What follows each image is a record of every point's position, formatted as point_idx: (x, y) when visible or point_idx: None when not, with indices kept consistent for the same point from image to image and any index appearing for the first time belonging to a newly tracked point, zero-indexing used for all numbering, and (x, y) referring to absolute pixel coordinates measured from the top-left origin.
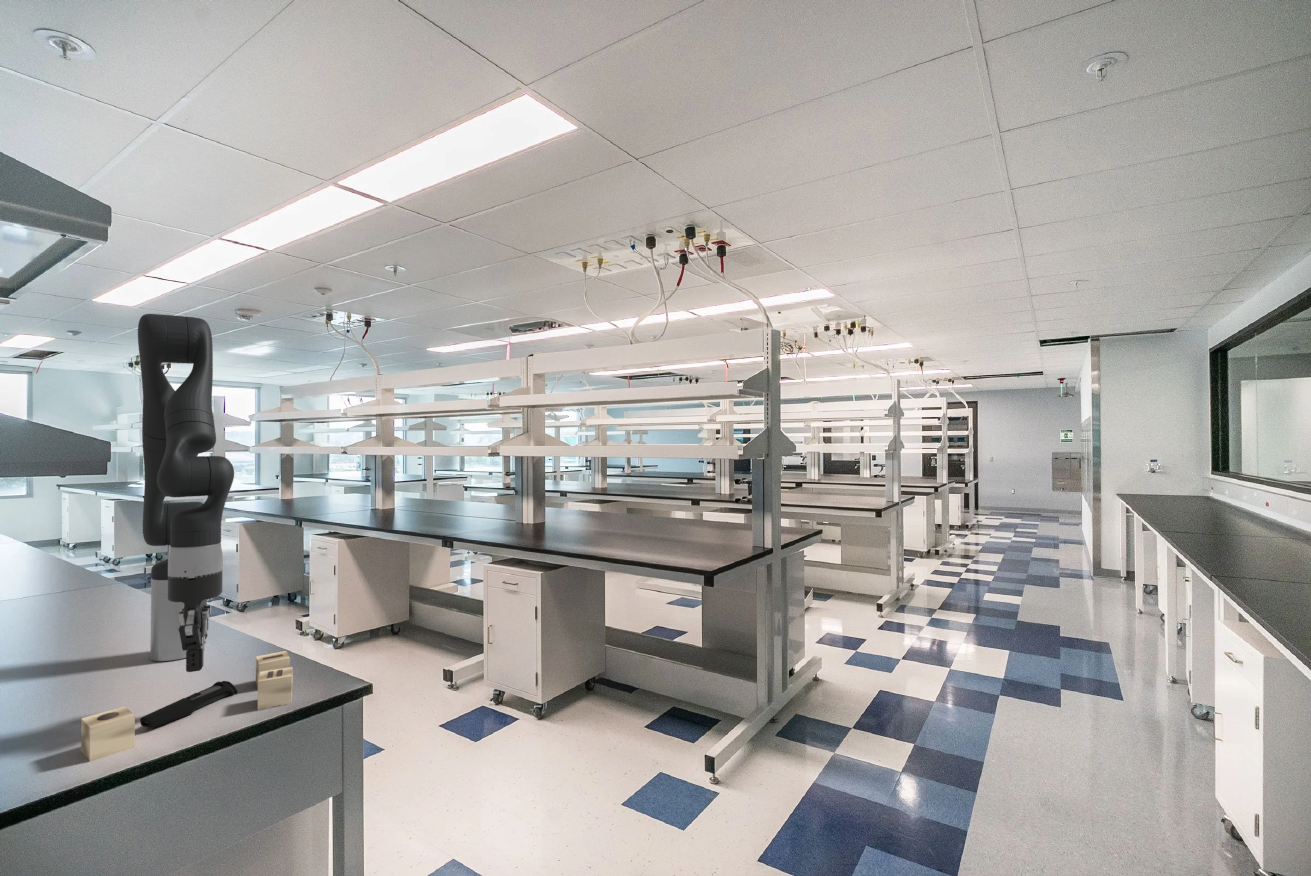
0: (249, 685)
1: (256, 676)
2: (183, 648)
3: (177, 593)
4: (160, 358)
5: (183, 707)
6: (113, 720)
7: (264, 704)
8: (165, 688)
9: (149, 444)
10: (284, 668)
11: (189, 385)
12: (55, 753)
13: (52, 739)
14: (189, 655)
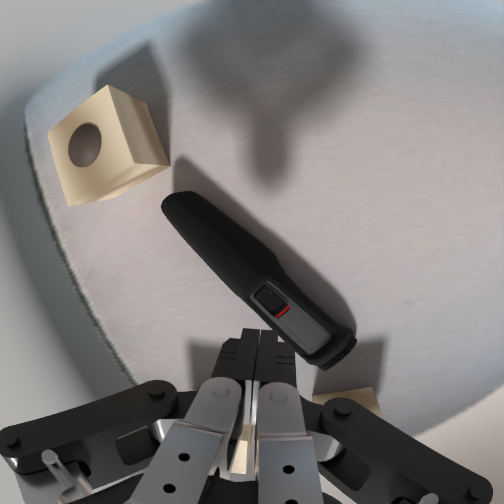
0: (357, 379)
1: (360, 400)
2: (137, 388)
3: None
4: None
5: (223, 279)
6: (58, 168)
7: None
8: (463, 212)
9: None
10: (243, 466)
11: None
12: (162, 62)
13: (249, 31)
14: (212, 376)
